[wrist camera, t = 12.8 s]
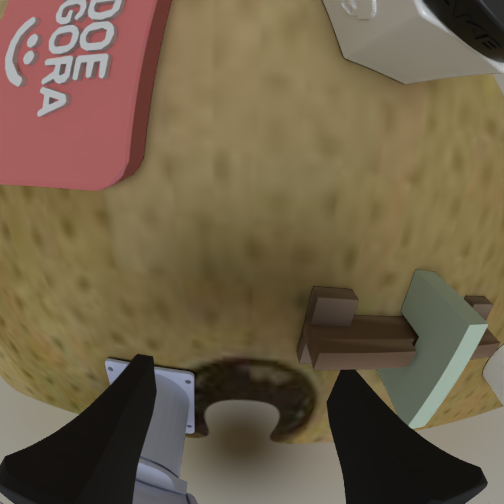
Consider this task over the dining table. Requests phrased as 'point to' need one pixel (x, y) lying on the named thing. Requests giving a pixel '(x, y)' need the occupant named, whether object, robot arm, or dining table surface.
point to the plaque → (76, 89)
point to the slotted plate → (432, 348)
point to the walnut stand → (366, 334)
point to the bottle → (496, 373)
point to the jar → (421, 36)
